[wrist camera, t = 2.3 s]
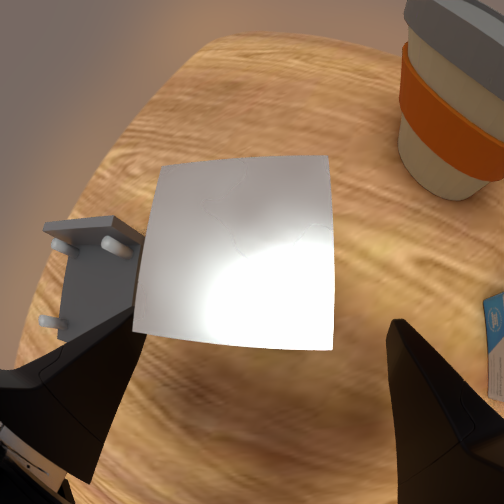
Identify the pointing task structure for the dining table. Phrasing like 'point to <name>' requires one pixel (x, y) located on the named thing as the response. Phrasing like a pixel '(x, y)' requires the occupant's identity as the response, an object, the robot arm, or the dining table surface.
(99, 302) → the drive dock
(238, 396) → the dining table surface
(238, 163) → the silver tall square block
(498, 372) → the ink box
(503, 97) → the reusable coffee cup
